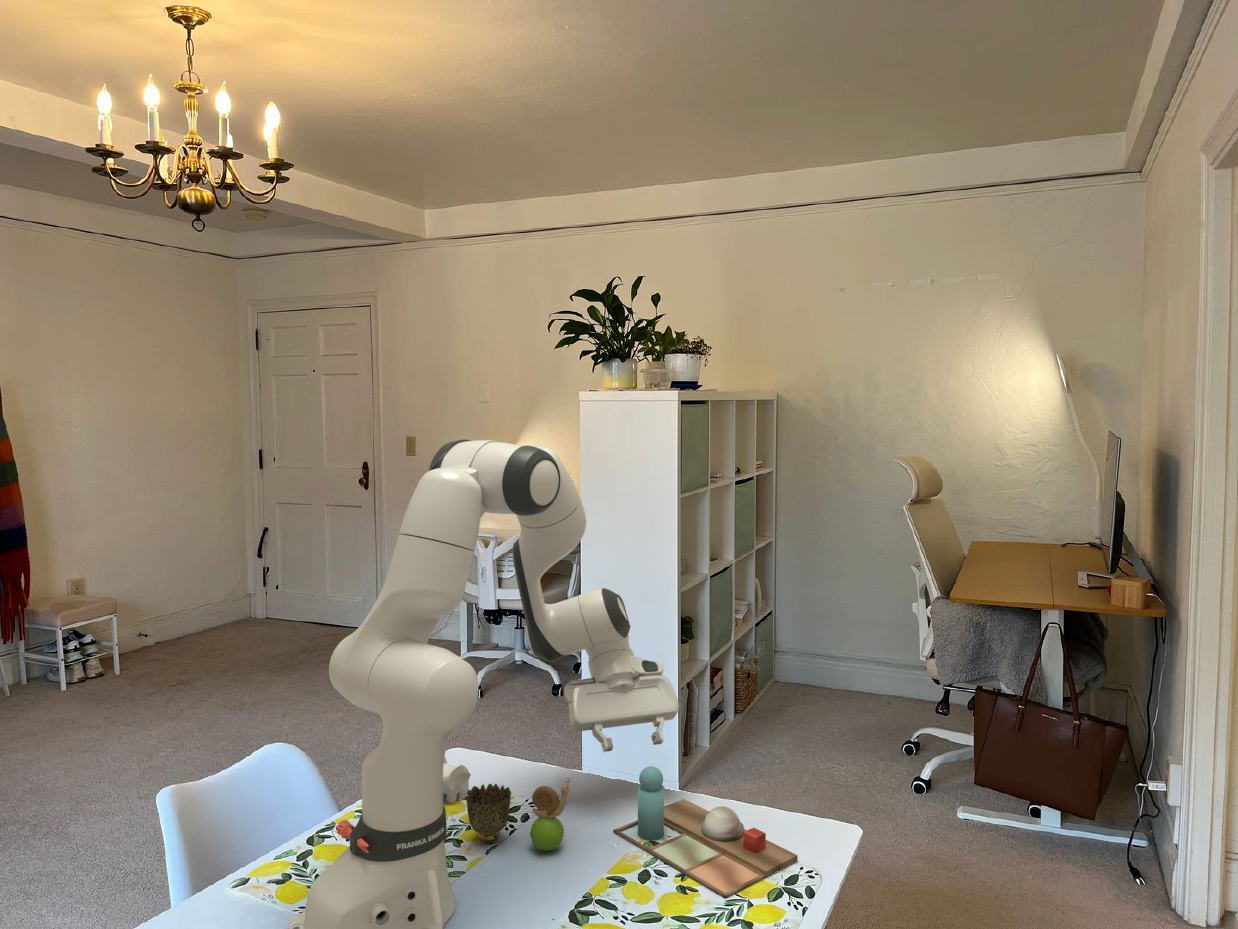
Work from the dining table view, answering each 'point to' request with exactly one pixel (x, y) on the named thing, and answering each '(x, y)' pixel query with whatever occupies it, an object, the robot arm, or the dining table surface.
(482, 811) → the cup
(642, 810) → the pawn
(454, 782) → the elephant figurine
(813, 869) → the dining table surface
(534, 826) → the snail figurine
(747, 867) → the game board
